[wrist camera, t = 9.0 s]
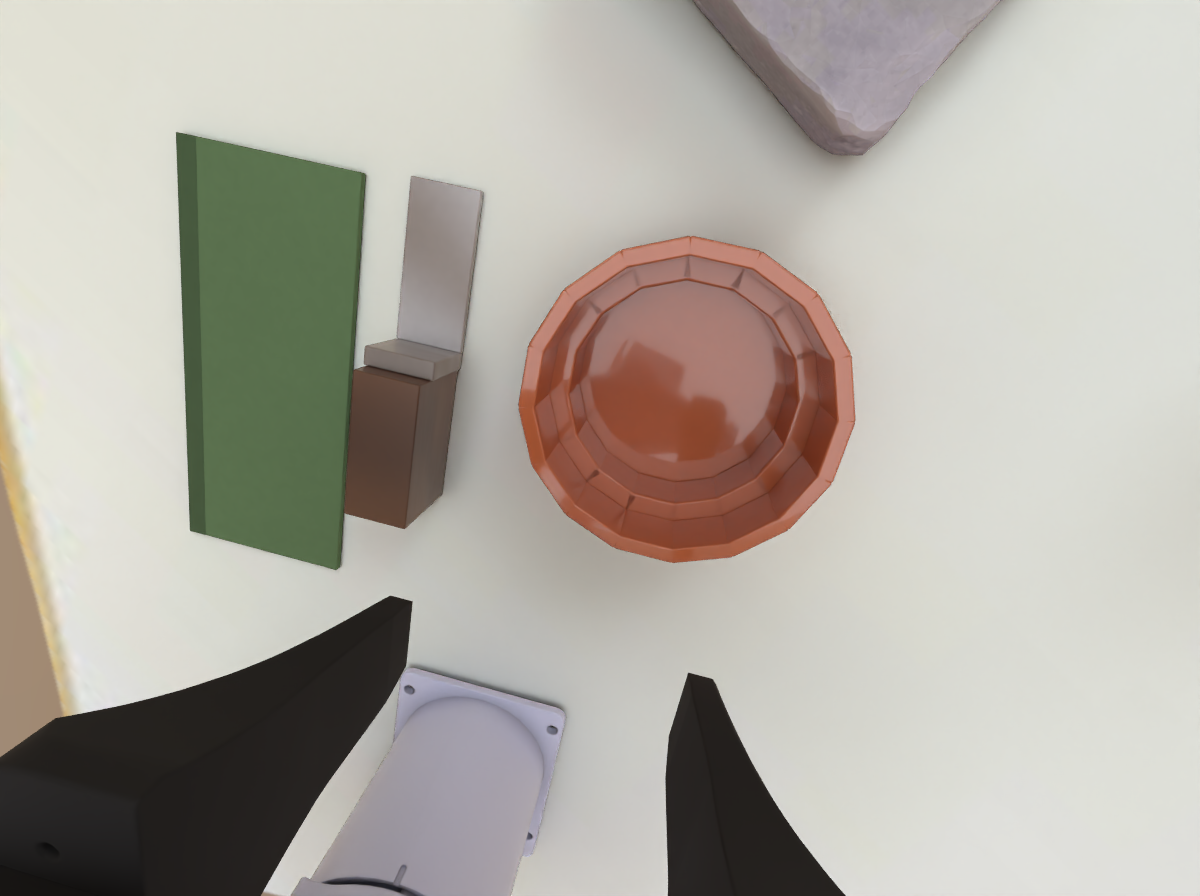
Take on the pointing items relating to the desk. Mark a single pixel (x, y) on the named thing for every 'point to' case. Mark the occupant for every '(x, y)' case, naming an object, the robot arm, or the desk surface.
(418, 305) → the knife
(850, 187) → the desk surface
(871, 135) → the stone block
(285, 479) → the green flat rectangular slab
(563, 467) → the bowl
